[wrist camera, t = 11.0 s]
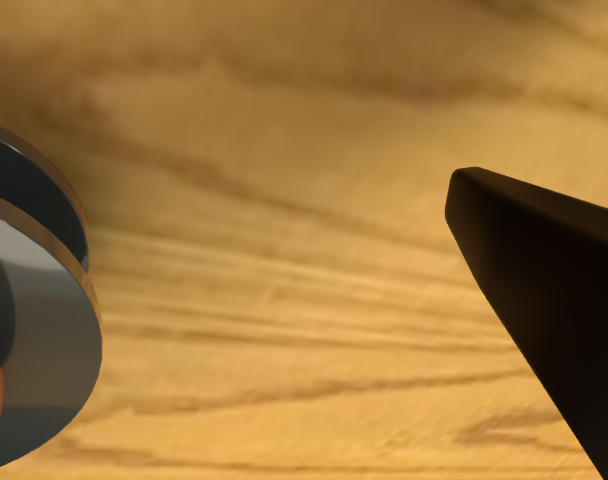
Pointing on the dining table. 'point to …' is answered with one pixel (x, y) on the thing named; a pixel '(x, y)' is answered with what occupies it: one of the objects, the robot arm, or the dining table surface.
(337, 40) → the dining table surface
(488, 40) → the dining table surface
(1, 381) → the fruit slice
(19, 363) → the cake stand
